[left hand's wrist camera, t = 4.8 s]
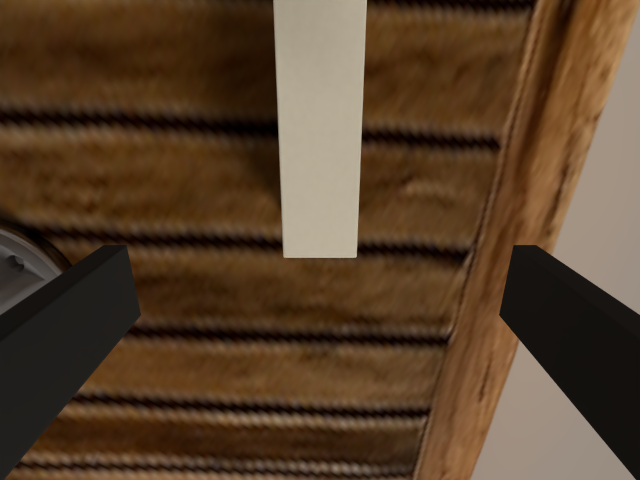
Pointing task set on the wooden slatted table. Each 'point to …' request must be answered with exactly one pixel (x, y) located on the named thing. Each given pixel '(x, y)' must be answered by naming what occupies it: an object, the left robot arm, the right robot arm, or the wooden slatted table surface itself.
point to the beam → (319, 123)
